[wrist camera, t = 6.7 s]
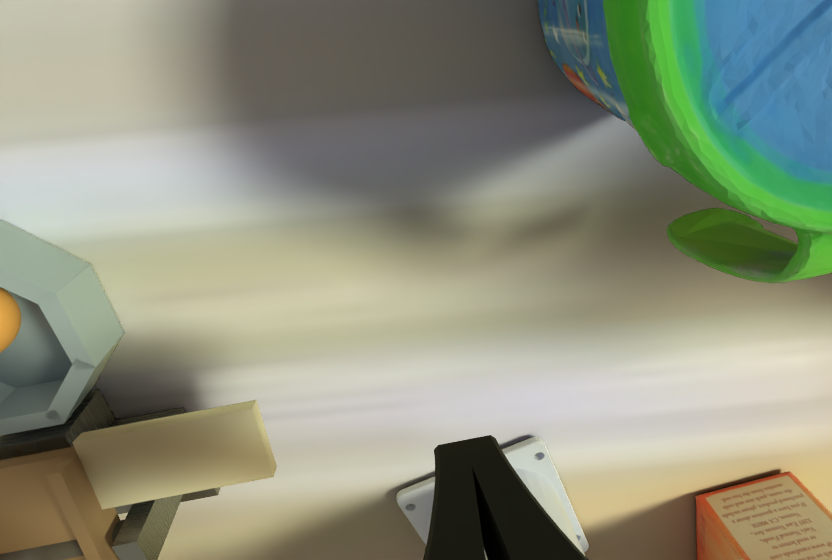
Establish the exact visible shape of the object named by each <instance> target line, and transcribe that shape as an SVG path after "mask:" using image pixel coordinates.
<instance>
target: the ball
mask: <svg viewBox="0 0 832 560" xmlns="http://www.w3.org/2000/svg"><path fill="white" fill-rule="evenodd" d="M20 326H21V312H20V308H19V306H18V304H17V302H16V300H15V299H14V298H13V296H12V295H11V294H10V293H9V292H8V291H6V290H5V289H4V288H2V287H0V353H1V352H2V351H4V350H5V349H6V348H7V347H8V346H9V345H10V344H11V343H12V342H13V341H14V339H15V338H16V336H17V334H18V332H19V329H20Z"/></svg>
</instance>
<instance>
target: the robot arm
mask: <svg viewBox="0 0 832 560" xmlns="http://www.w3.org/2000/svg"><path fill="white" fill-rule="evenodd" d="M539 452H541V453H539ZM537 453H539V454H537ZM434 454H435V476H434V477H432V478H429V479H427V480H424V481H422V482H419V483H417V484H414V485H412V486H409V487H407V488H404V489H402V490H400V491H399V492H398V493H397V496H396V499H397V504H398V505H399V507H400V508H401V510H402V511H403V513H404V514H405V516H406V517H407V518H408V520H409V521H410V523H411V524H412V526H413V527H414V529H415V530H416V532H417V533H418V535H419V536H420V537H421V539H422V540H423V542H424V543H425V545H426V549H425V554H424V559H423V560H588V559H587V558H586V557H585V554H584V552H586V551H587V550H588V548H589V544H588V542H587V540H586V537H585V535H584V533H583V530H582V528H581V526H580V523H579V521H578V519H577V517H576V514H575V512H574V510H573V507H572V505H571V503H570V501H569V498H568V496H567V494H566V491H565V489H564V487H563V484H562V482H561V480H560V478H559V475H558V473H557V471H556V468H555V466H554V464H553V461H552V459H551V457H550V455H549V452H548V450H547V448H546V445H545V443H544V441H543V440H542V439H541V438H539V437H532V438H529V439H527V440H524V441H522V442H519V443H517V444H514V445H512V446H509V447H507V448H504V449H501V448H500V446H499V444H498V442H497V441H496V439H495V438H494V437H492V436H491V435H489V436H484V437H478V438H473V439H468V440H463V441H458V442H452V443H447V444H442V445H438V446H437V447H436V448H435V449H434ZM409 504H410V505H409Z"/></svg>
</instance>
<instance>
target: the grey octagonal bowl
mask: <svg viewBox="0 0 832 560" xmlns="http://www.w3.org/2000/svg"><path fill="white" fill-rule="evenodd" d="M0 287H2V288H4V289H5V290H6V291H8V292H9V293H10V294H11V295H12V296H13V298H14V299H15V300H16V302H17V304H18V306H19V308H20V312H21V326H20V329H19V332H18V334H17V336H16V338H15V339H14V341H13V342H12V343H11V344H10V345H9V346H8V347H7V348H6V349H5V350H4V351H2V352H1V353H0V436H1V435H7V434H12V433H17V432H23V431H28V430H33V429H39V428H44V427H49V426H55V425H60V424H64V423H65V422H66V421H67V419H68V418H69V417H70V416H71V414H72V413H73V412H74V410H75V409H76V408H77V407H78V405H79V404H80V403H81V402H82V400H83V399H84V398H85V396H86V395H87V394H88V393H89V391H90V390H91V389H92V387H93V386H94V385H95V383H96V381H97V379H98V377H99V376H100V374H101V372H102V370H103V369H104V367H105V365H106V363H107V362H108V360H109V358H110V356H111V355H112V353H113V351H114V349H115V348H116V346H117V344H118V342H119V341H120V339H121V337H122V335H123V334H124V331H123V329H122V327H121V325H120V323H119V321H118V319H117V317H116V314H115V312H114V310H113V308H112V306H111V304H110V302H109V300H108V298H107V296H106V294H105V292H104V290H103V288H102V286H101V284H100V282H99V280H98V278H97V276H96V274H95V272H94V270H93V268H92V266H91V264H89V263H87V262H85V261H83V260H81V259H79V258H77V257H75V256H73V255H71V254H69V253H67V252H65V251H63V250H61V249H59V248H57V247H55V246H53V245H51V244H49V243H47V242H45V241H43V240H41V239H39V238H37V237H35V236H33V235H31V234H29V233H27V232H25V231H23V230H21V229H19V228H17V227H15V226H13V225H11V224H9V223H7V222H5V221H4V220H2V221H0Z"/></svg>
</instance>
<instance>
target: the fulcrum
mask: <svg viewBox="0 0 832 560" xmlns="http://www.w3.org/2000/svg"><path fill="white" fill-rule="evenodd" d="M184 413H186V412H185V409H184V407H183V408H178V409H173V410H167V411H162V412H157V413H151V414H146V415H141V416H135V417H130V418H125V419H119V420H114V419H115V417H114V416H113V414H112V412H111V410H110V408H109V407H108V405H107V403H106V401H105V399H104V398H103V396H102V394H101V392H100V390H95V391H90V392H89V393H88V394H87V395H86V396H85V398H84V399H83V400H82V402H81V403H80V404H79V405H78V407H77V408H76V409H75V410H74V412H73V413H72V414H71V416H70V417H69V418H68V419H67V421H66V422H65V423H64V424H60V425H55V426H49V427H44V428H39V429H33V430H28V431H23V432H17V433H12V434H7V435H1V436H0V460H5V459H10V458H15V457H21V456H26V455H31V454H36V453H42V452H47V451H52V450H58V449H63V448H68V447H74V445H73V443H72V442H73V441H74V440H75V439H76V438H77V437H78V436H79V435H80V434H81V433H83V432H88V431H93V430H99V429H104V428H109V427H115V426H120V425H125V424H131V423H136V422H141V421H147V420H152V419H157V418H163V417H168V416H173V415H179V414H184ZM219 490H220V487H218V488H212V489H207V490H202V491H197V492H191V493H186V494H181V495H176V496H171V497H165V498H160V499H155V500H150V501H144V502H139V503H134V504H129V505H123V506H118V507H115V509H116V512H117V514H121V513H127V512H128V514H127V516H126V518H125V521H124V523H123V525H122V527H121V529H120V531H119V533H118V535H117V537H116V539H115V541H114V543H113V545H112V548H113V550H114V551H115V553H116V554H117V556H118V557H119V559H120V560H157V559H158V557H159V554H160V551H161V549H162V546H163V544H164V541H165V539H166V536H167V534H168V531H169V529H170V526H171V524H172V521H173V519H174V516H175V514H176V511H177V509H178V506H179V503H180V502H184V501H189V500H194V499H200V498H205V497H210V496H215V495H218V493H219Z"/></svg>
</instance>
